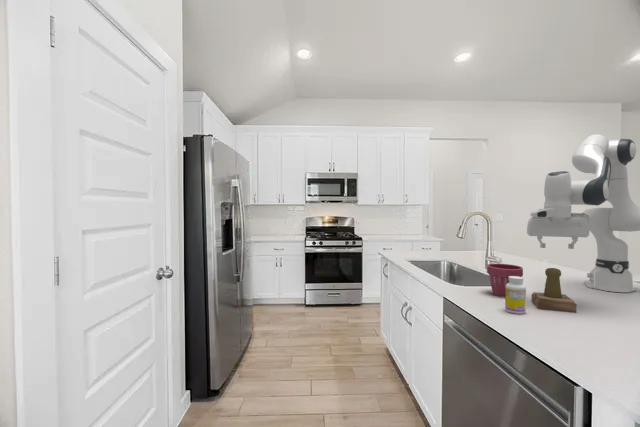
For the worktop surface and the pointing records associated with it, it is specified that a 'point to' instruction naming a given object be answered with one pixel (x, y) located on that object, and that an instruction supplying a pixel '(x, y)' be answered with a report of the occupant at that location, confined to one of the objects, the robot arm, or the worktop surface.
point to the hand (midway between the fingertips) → (556, 248)
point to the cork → (553, 283)
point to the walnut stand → (553, 303)
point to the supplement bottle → (515, 295)
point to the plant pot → (502, 276)
